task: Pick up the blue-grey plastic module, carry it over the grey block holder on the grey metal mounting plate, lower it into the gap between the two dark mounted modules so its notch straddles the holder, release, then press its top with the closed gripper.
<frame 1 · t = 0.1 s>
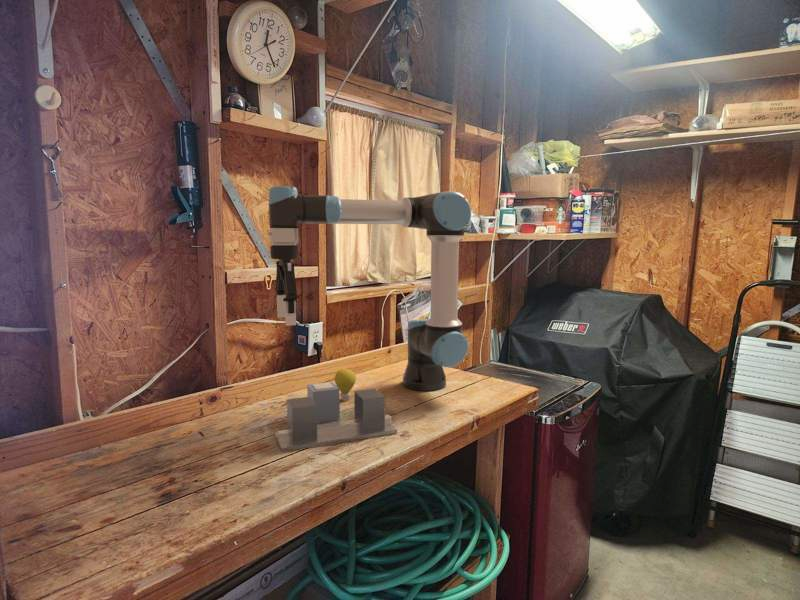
hand: (286, 321, 138), 28 cm above the table, fingers open, 13 cm apart
grey block holder: (336, 435, 129), on the table
light bulb: (345, 400, 157), on the table
module: (323, 417, 142), on the table
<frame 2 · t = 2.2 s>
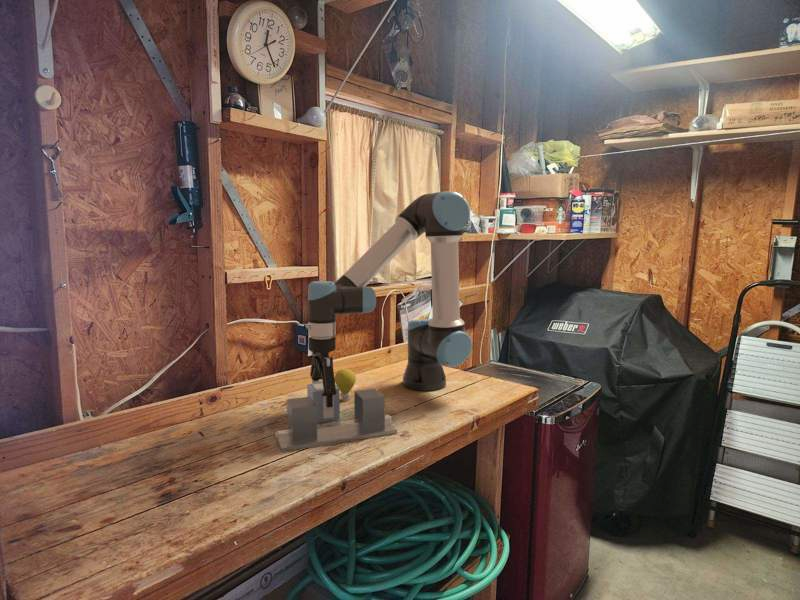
hand: (322, 409, 142), 2 cm above the table, fingers open, 13 cm apart
nothing on the table moved.
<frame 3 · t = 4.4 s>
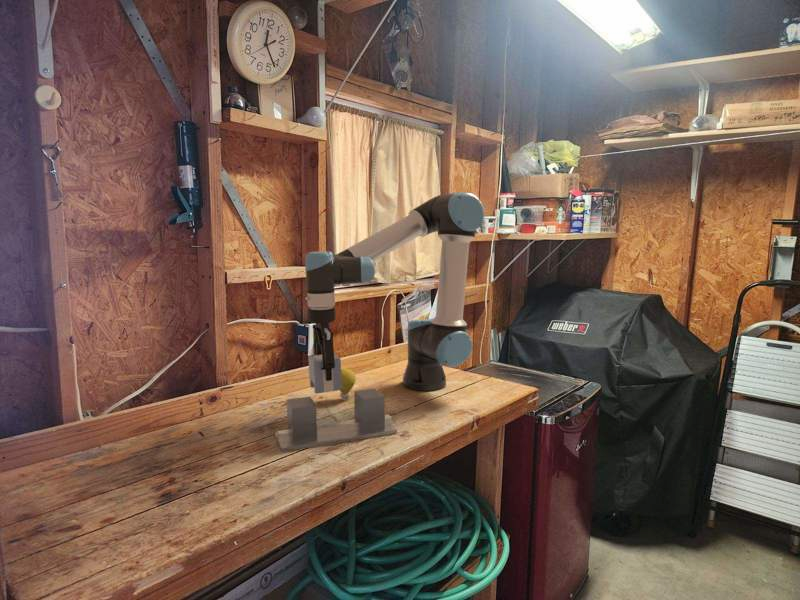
hand: (325, 386, 141), 9 cm above the table, fingers closed on module, 7 cm apart
module: (325, 388, 141), point 8 cm above the table, touching gripper
everything else where it was.
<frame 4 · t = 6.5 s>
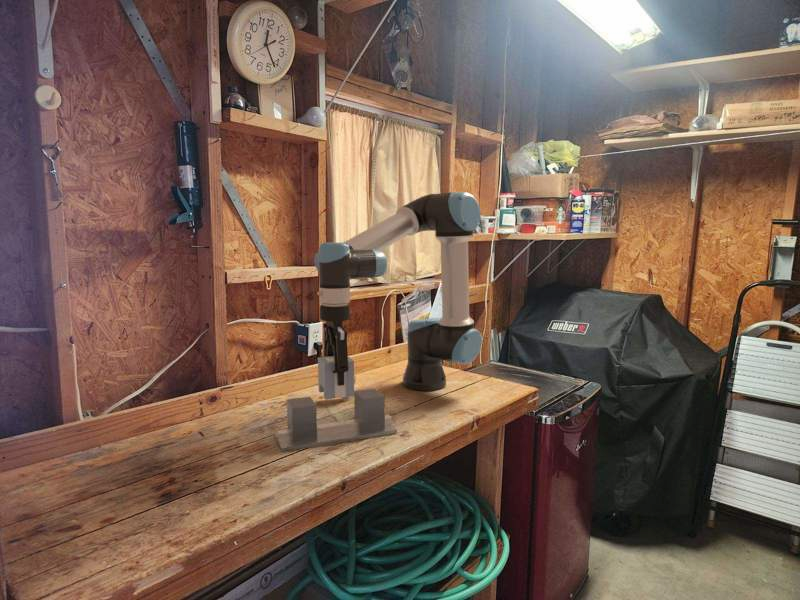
hand: (335, 392, 128), 12 cm above the table, fingers closed on module, 7 cm apart
module: (336, 393, 128), point 11 cm above the table, touching gripper
everything else where it was.
when the fingers open (3 cm above the table, at t = 8.8 s): module drops 1 cm, resting on grey block holder.
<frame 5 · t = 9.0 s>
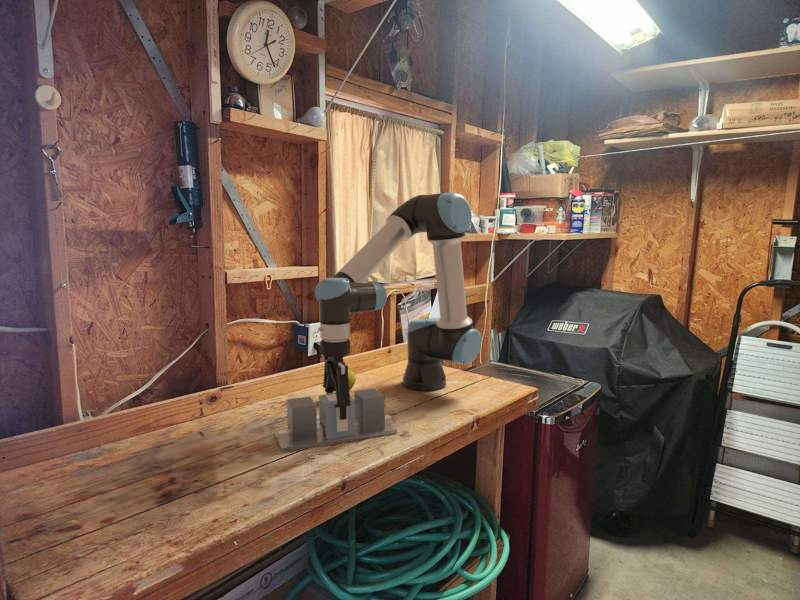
hand: (336, 423, 129), 3 cm above the table, fingers open, 10 cm apart
module: (337, 431, 129), point 1 cm above the table, touching grey block holder
everything else where it was.
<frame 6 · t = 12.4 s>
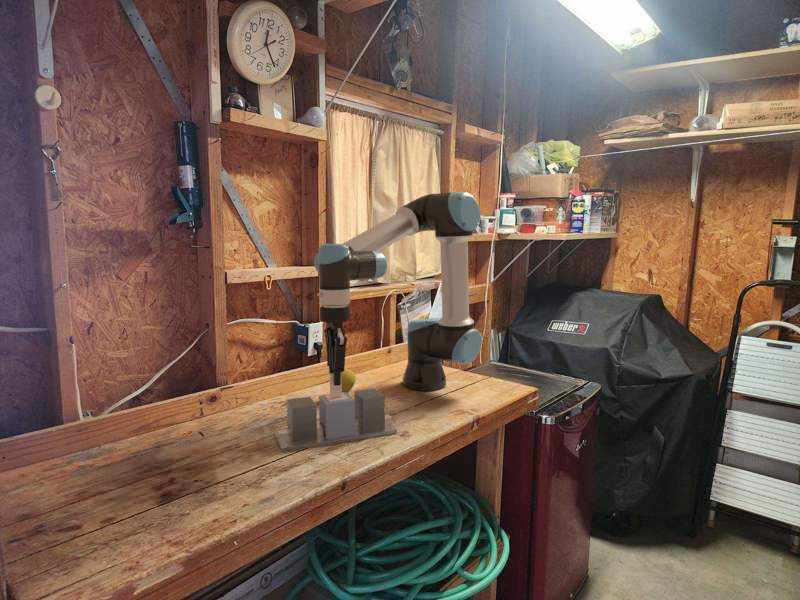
hand: (336, 396, 128), 11 cm above the table, fingers closed
module: (337, 431, 129), point 1 cm above the table, touching grey block holder, gripper
everything else where it was.
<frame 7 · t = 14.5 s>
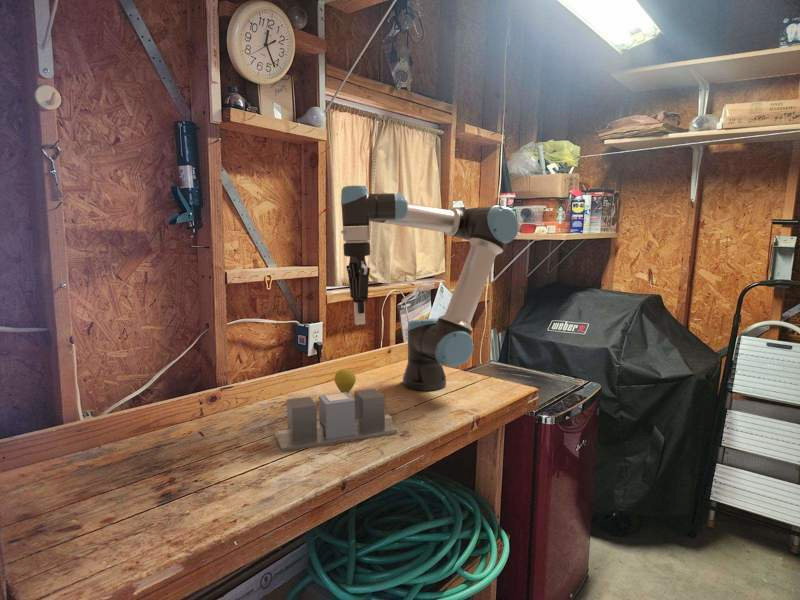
hand: (360, 323, 144), 26 cm above the table, fingers closed
module: (337, 431, 129), point 1 cm above the table, touching grey block holder
everything else where it was.
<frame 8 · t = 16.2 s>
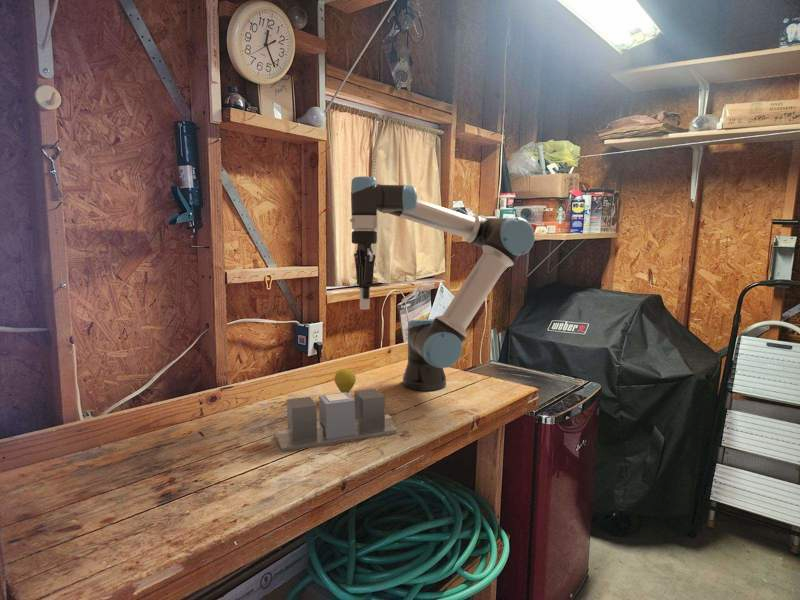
hand: (364, 308, 150), 29 cm above the table, fingers closed
nothing on the table moved.
at the end: module 0.1 cm off-centre on the grey block holder, point 1.0 cm above the grey block holder's base; module tilted 0°; the gripper is holding nothing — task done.
